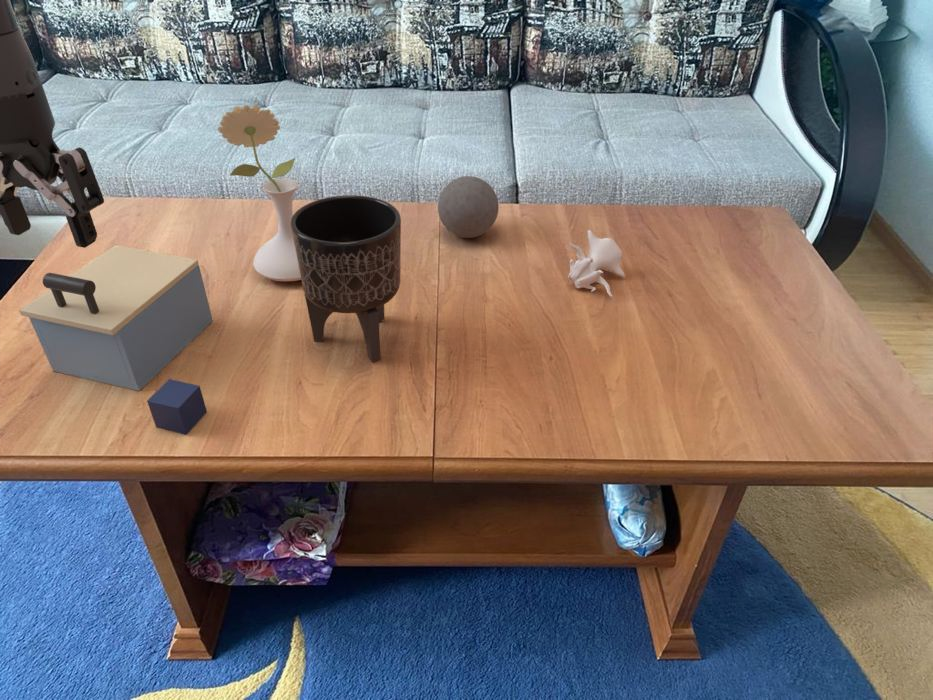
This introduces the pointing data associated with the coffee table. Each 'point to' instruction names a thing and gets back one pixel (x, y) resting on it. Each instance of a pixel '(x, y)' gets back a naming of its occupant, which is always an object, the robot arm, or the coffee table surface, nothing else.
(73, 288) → the lid
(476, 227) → the decorative ball
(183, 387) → the block
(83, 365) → the light blue open box
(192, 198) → the coffee table surface
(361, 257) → the planter
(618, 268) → the figurine
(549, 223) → the coffee table surface
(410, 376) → the coffee table surface
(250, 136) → the flower in vase
